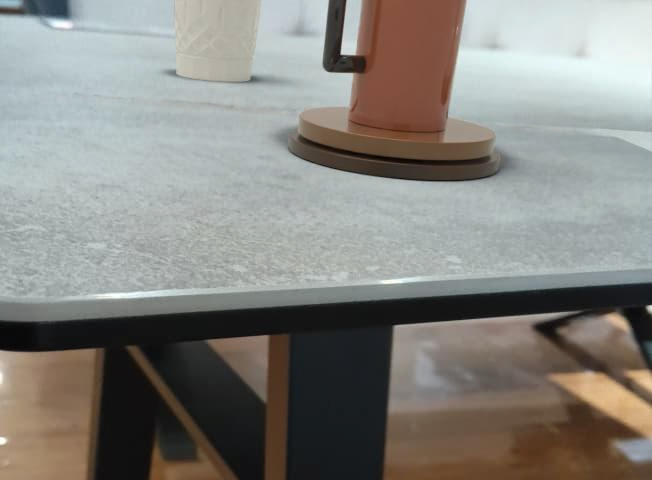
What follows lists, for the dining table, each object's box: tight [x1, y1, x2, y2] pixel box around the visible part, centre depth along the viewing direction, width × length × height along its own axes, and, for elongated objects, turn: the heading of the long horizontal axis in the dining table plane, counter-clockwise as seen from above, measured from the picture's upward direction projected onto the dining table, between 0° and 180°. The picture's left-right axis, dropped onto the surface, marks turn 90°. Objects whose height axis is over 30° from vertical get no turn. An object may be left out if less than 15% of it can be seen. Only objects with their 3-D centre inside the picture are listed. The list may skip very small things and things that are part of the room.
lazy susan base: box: [287, 127, 501, 181], centre depth 55 cm, size 13×13×1 cm
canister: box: [297, 0, 497, 161], centre depth 52 cm, size 12×12×13 cm
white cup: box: [173, 0, 262, 83], centre depth 78 cm, size 8×8×10 cm
